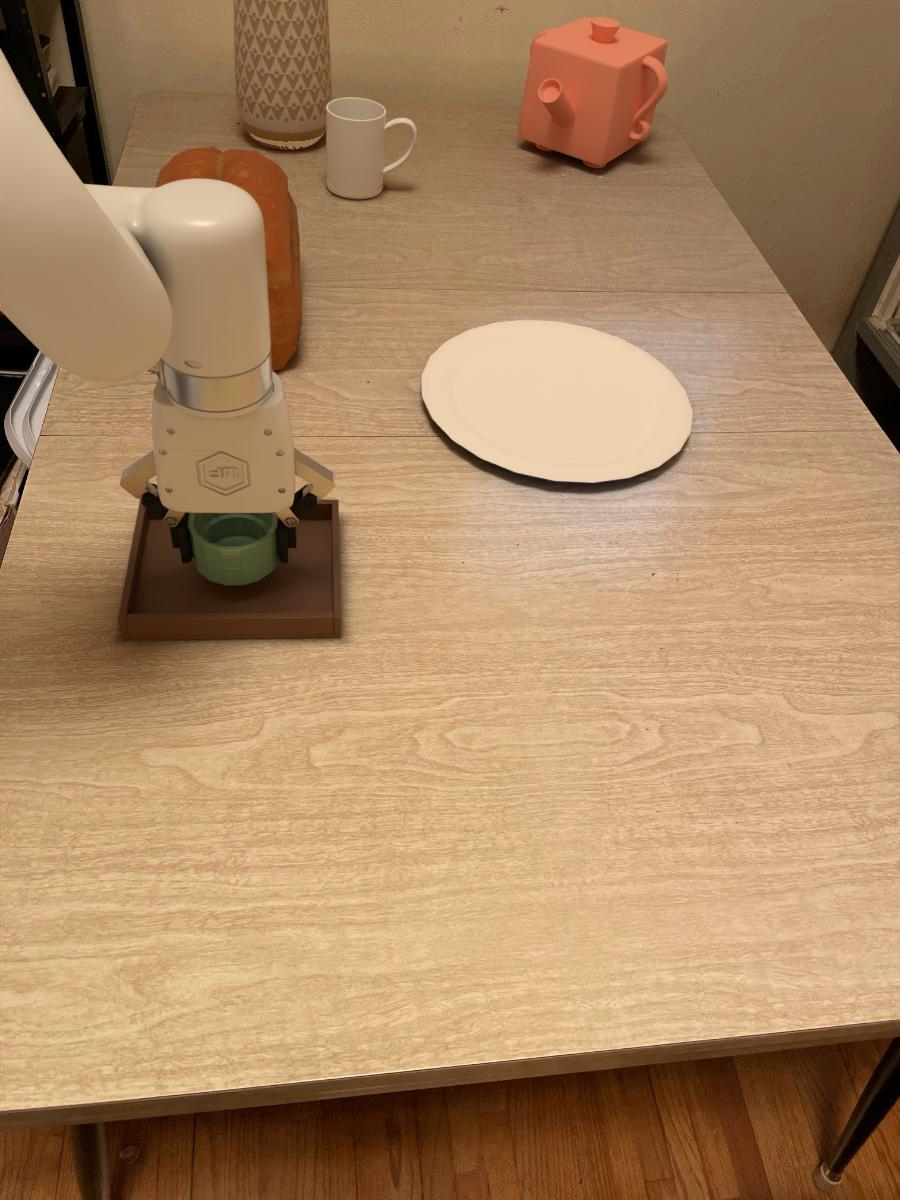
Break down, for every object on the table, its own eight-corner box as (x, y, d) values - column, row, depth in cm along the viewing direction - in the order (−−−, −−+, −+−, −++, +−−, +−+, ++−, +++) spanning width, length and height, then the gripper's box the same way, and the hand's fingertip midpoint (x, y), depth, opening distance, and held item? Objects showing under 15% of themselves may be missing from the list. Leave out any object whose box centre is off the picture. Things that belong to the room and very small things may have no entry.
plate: (514, 303, 117) (516, 290, 116) (732, 400, 107) (737, 387, 106) (363, 409, 100) (363, 396, 98) (607, 536, 90) (611, 523, 88)
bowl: (190, 590, 78) (183, 550, 75) (197, 530, 83) (191, 490, 79) (279, 589, 79) (276, 550, 75) (281, 529, 83) (279, 490, 80)
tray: (122, 640, 76) (117, 619, 74) (144, 519, 86) (140, 497, 84) (340, 637, 78) (341, 617, 77) (338, 519, 88) (338, 499, 86)
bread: (298, 253, 121) (295, 121, 109) (305, 376, 103) (302, 235, 91) (165, 250, 118) (148, 115, 107) (148, 376, 100) (125, 230, 89)
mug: (323, 197, 132) (322, 116, 124) (329, 172, 137) (329, 94, 129) (411, 206, 132) (416, 127, 125) (414, 181, 138) (419, 104, 130)
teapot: (600, 202, 138) (628, 68, 125) (468, 155, 146) (481, 23, 133) (670, 151, 154) (701, 26, 141) (547, 110, 161) (567, -12, 148)
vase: (219, 133, 143) (198, -120, 120) (287, 111, 150) (279, -130, 128) (283, 165, 137) (274, -94, 115) (350, 141, 145) (354, -106, 123)
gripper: (79, 399, 63) (122, 584, 76) (344, 403, 66) (342, 583, 79) (96, 336, 68) (134, 520, 81) (342, 342, 71) (341, 521, 84)
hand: (236, 550), depth 80 cm, fingers closed on bowl, 7 cm apart
